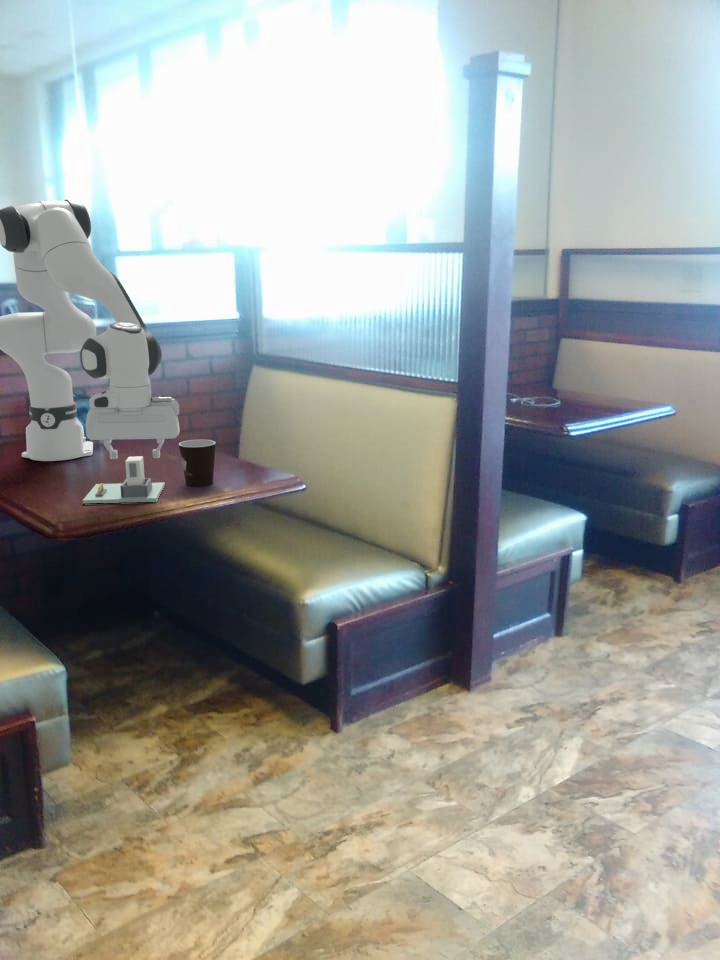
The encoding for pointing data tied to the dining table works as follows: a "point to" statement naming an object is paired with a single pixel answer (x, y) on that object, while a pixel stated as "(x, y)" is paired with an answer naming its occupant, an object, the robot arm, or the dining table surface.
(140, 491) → the board
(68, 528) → the dining table surface
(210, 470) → the coffee mug
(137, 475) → the plug
